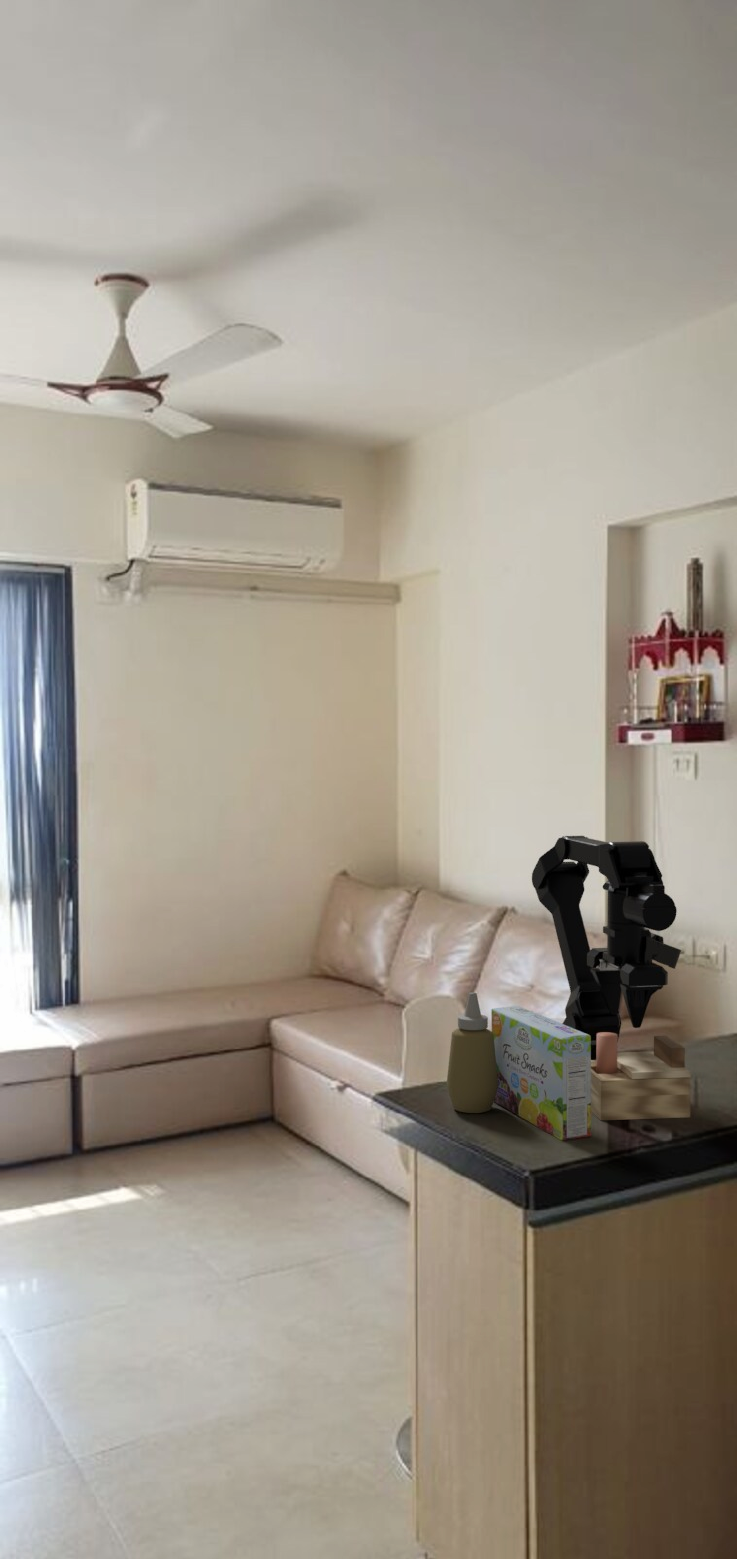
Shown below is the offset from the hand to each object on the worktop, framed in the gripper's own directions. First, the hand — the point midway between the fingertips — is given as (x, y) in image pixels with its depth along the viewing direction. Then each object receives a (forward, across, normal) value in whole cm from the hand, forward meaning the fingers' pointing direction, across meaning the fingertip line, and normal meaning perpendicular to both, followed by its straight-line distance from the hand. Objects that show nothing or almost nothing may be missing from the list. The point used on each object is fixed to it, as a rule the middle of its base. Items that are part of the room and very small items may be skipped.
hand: (625, 1021), depth 197 cm
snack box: (+14, -4, +16) cm, 21 cm away
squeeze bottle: (+13, +2, +24) cm, 28 cm away
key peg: (+10, -1, +4) cm, 10 cm away
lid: (+7, -2, -3) cm, 8 cm away
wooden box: (+13, -2, -1) cm, 13 cm away
